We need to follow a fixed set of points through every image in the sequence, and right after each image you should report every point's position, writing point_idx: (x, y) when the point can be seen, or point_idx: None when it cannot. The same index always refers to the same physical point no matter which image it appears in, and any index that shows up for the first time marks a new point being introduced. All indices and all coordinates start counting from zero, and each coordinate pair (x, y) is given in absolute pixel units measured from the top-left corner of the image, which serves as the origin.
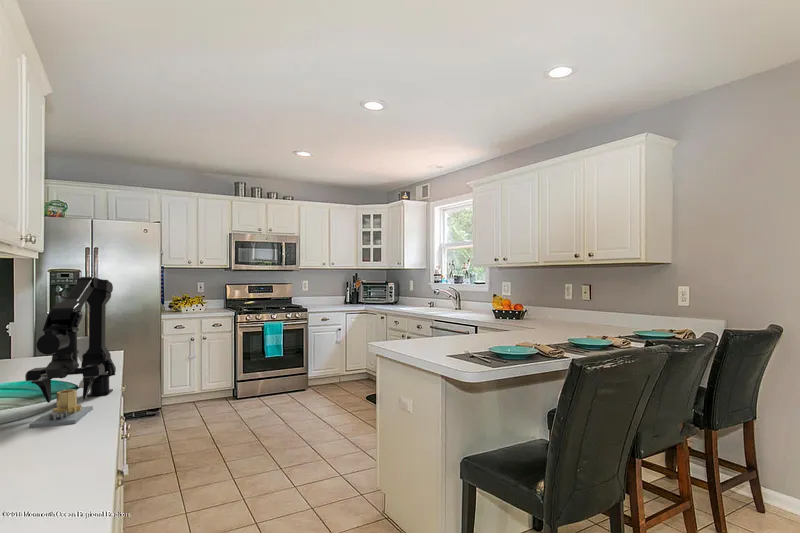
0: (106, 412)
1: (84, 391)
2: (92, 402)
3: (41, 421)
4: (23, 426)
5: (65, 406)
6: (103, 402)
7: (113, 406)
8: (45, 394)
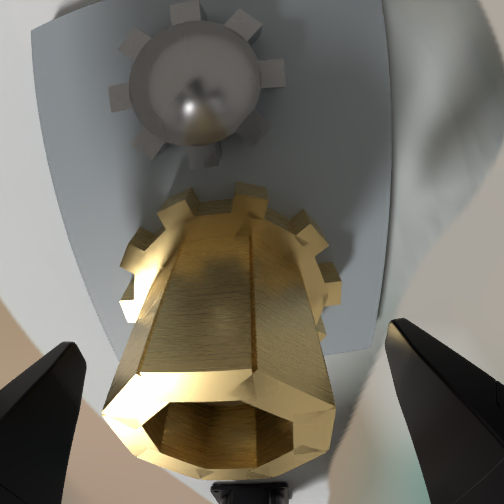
0: (4, 263)
1: (16, 391)
2: None
3: (312, 14)
4: (431, 46)
5: (197, 255)
6: None
7: None
8: (459, 369)
